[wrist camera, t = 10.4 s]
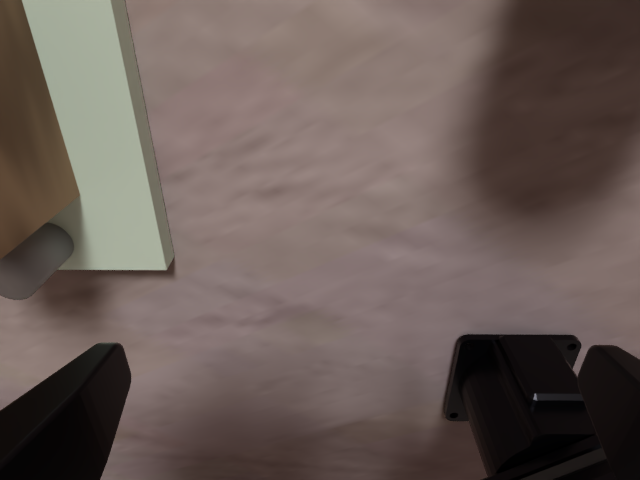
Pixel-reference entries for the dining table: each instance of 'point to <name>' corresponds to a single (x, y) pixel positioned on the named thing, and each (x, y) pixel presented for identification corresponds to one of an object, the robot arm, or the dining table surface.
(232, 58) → the dining table surface
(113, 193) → the ledge board
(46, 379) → the robot arm
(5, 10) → the brown wooden block
